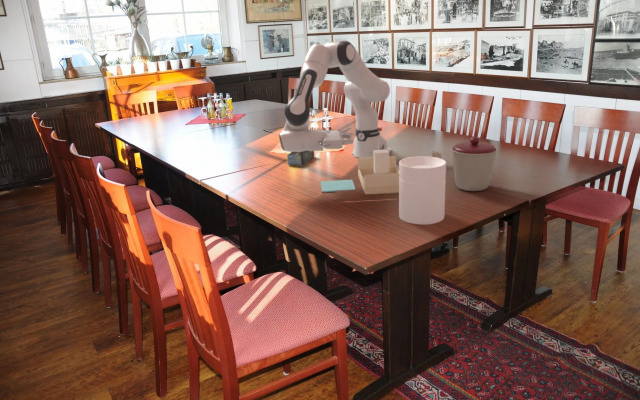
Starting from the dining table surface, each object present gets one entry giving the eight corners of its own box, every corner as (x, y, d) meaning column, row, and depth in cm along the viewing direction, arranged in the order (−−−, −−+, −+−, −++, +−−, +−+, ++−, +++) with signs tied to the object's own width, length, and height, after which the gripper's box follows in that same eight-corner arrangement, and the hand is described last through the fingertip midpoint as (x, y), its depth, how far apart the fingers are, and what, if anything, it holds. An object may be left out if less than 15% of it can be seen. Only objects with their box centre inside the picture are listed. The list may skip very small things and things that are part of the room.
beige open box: (365, 195, 211) (365, 175, 208) (358, 176, 236) (357, 158, 233) (407, 193, 211) (407, 172, 208) (395, 174, 237) (396, 156, 234)
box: (375, 185, 221) (375, 153, 216) (373, 181, 226) (373, 150, 221) (389, 184, 221) (389, 152, 217) (387, 181, 226) (387, 149, 221)
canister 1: (438, 207, 194) (439, 155, 188) (449, 223, 179) (451, 167, 172) (395, 209, 194) (395, 157, 187) (403, 225, 179) (403, 169, 172)
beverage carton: (286, 166, 259) (286, 153, 257) (300, 156, 276) (300, 144, 274) (301, 166, 257) (301, 153, 255) (315, 157, 274) (314, 144, 272)
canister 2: (461, 178, 226) (463, 130, 219) (502, 185, 215) (505, 135, 208) (441, 190, 213) (443, 139, 206) (484, 197, 202) (487, 144, 195)
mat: (321, 192, 217) (321, 191, 216) (320, 182, 230) (320, 181, 230) (355, 190, 217) (355, 189, 217) (352, 180, 230) (352, 179, 230)
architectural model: (435, 170, 242) (436, 154, 239) (425, 167, 247) (425, 151, 245) (441, 168, 243) (441, 153, 241) (430, 165, 249) (431, 150, 247)
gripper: (319, 137, 205) (354, 136, 206) (317, 128, 225) (349, 126, 225) (319, 153, 207) (354, 151, 208) (318, 142, 227) (349, 141, 227)
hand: (351, 138), depth 216 cm, fingers open, 8 cm apart
